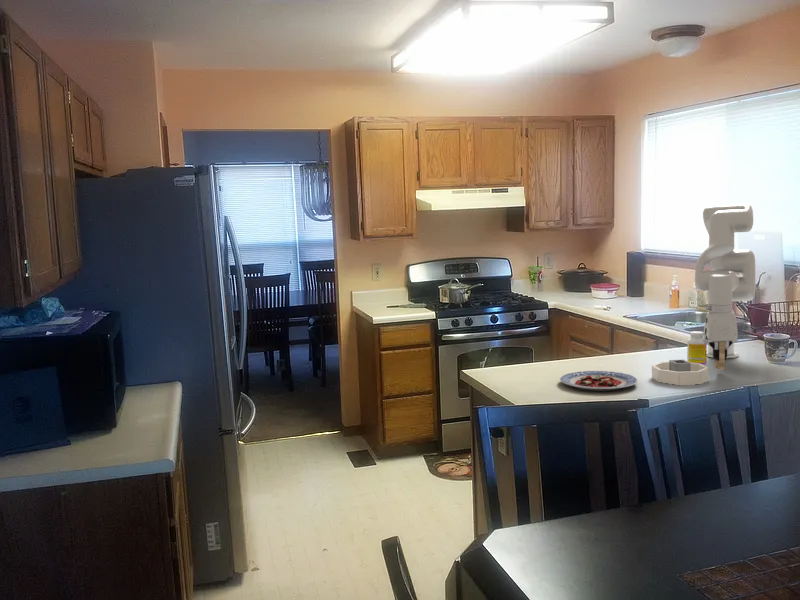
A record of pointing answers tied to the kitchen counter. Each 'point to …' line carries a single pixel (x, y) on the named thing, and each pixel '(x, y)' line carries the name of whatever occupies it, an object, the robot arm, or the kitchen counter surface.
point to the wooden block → (721, 356)
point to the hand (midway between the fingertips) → (720, 359)
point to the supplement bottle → (696, 348)
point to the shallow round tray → (680, 372)
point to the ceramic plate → (599, 380)
